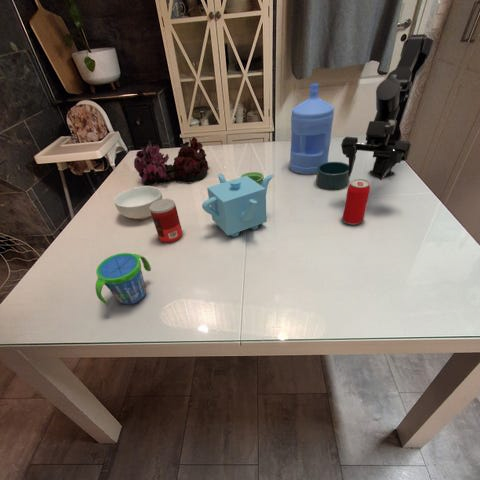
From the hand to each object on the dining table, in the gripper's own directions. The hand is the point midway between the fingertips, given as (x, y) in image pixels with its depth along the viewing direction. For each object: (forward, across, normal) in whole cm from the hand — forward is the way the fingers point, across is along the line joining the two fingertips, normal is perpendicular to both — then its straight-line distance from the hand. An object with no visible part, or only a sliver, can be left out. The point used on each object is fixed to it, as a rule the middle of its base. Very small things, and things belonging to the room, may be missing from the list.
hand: (364, 177), depth 89 cm
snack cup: (+53, -41, -36) cm, 76 cm away
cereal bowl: (+28, -70, -11) cm, 76 cm away
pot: (-5, -15, +22) cm, 27 cm away
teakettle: (+23, -32, -6) cm, 40 cm away
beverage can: (+12, 0, +5) cm, 13 cm away
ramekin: (+5, -42, +12) cm, 44 cm away
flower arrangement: (+7, -79, +10) cm, 80 cm away
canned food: (+34, -50, -17) cm, 63 cm away
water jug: (-13, -29, +30) cm, 43 cm away
